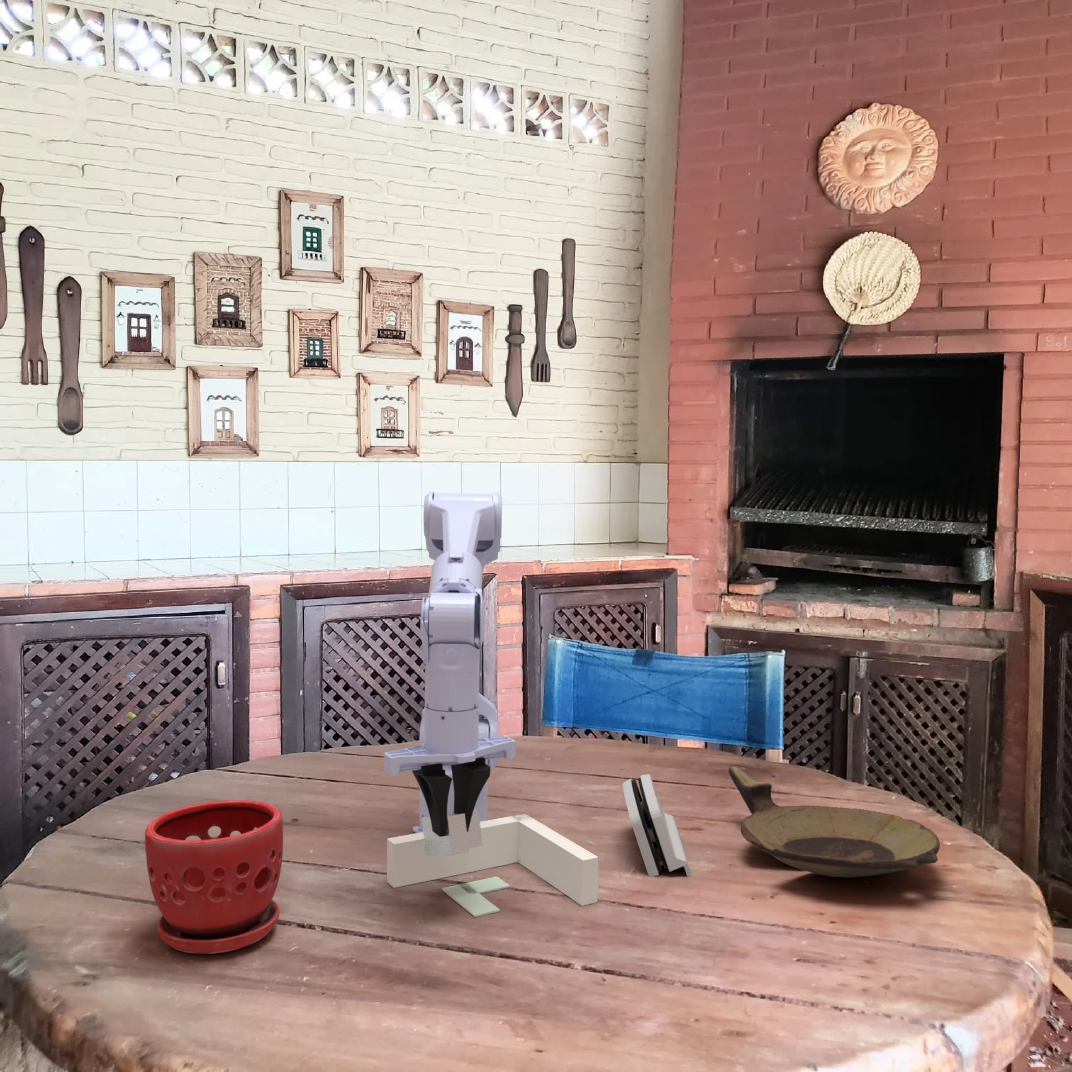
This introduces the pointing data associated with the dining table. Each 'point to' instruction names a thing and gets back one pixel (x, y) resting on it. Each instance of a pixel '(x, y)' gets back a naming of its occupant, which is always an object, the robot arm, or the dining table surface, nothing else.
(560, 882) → the corner wall
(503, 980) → the dining table surface
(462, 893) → the mat
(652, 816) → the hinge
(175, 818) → the plant pot
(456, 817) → the bracket
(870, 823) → the brown frying pan
